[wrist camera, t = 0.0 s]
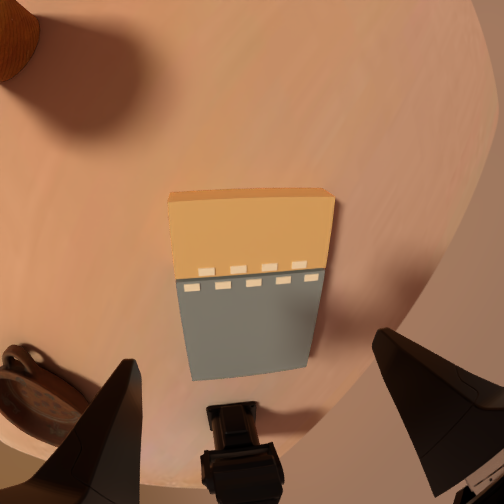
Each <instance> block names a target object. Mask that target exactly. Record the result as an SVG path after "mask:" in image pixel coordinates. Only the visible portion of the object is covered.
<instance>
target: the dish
mask: <svg viewBox="0 0 504 504" xmlns="http://www.w3.org/2000/svg"><path fill="white" fill-rule="evenodd" d="M14 357H15V358H17V359H18V360H19V361H18V360H16V359H14ZM2 361H3V365H2V366H1V367H0V413H1V414H2V415H3V416H4V417H5V418H6V419H7V420H9V421H10V422H11V423H12V424H14V425H15V426H16V427H17V428H19V429H20V430H22V431H23V432H25V433H26V434H28V435H30V436H32V437H34V438H36V439H38V440H41V441H43V442H45V443H48V444H50V445H53V446H55V447H59V446H60V445H61V443H62V442H63V441H64V439H65V438H66V437H67V435H68V434H69V432H70V431H71V430H72V428H74V425H75V424H76V423H77V421H78V420H79V418H80V417H81V416H82V414H83V413H84V411H85V410H86V409H87V407H88V406H89V404H88V402H87V400H86V399H85V398H84V397H83V396H82V394H81V393H79V392H78V391H77V390H76V389H75V388H73V387H72V386H71V385H69V384H68V383H67V382H65V381H64V380H62V379H61V378H59V377H58V376H56V375H54V374H52V373H51V372H49V371H47V370H45V369H43V368H41V367H39V366H38V365H37V364H36V363H35V361H34V360H33V358H32V357H31V356H30V354H29V353H28V352H27V351H26V350H24V349H23V348H22V347H20V346H17V345H11V346H9V347H8V348H7V349H6V350H5V351H4V353H3V356H2Z"/></svg>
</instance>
